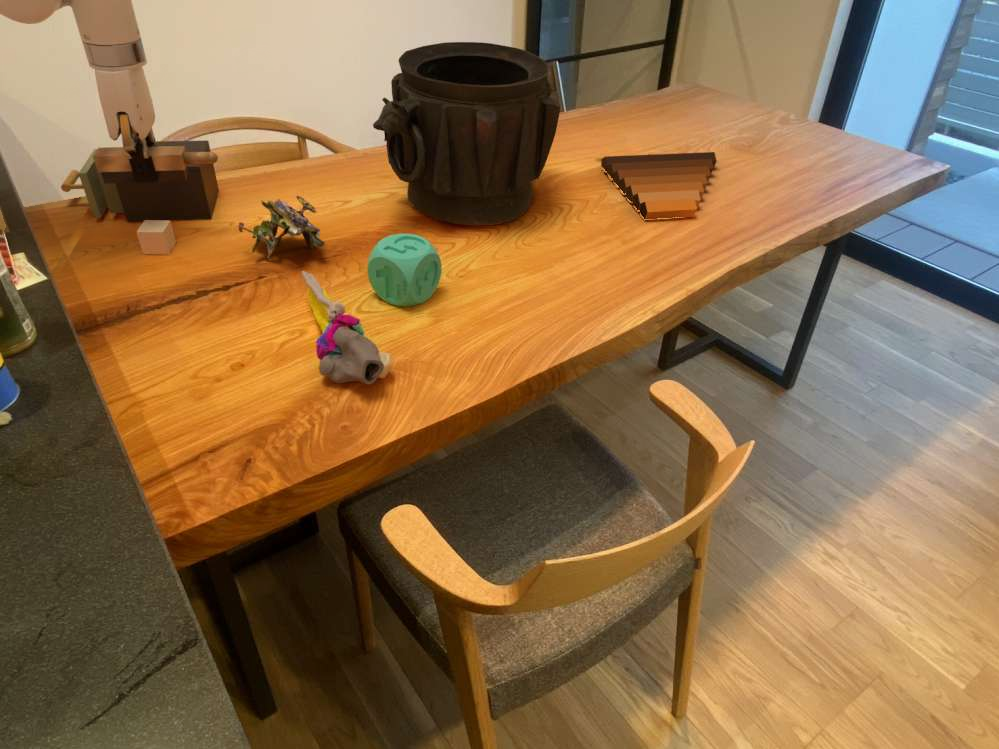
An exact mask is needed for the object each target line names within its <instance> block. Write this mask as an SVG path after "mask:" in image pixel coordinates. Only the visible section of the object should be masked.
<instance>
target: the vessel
mask: <svg viewBox="0 0 999 749" xmlns="http://www.w3.org/2000/svg"><path fill="white" fill-rule="evenodd" d="M398 64H399V69H400V72H398V73H396V74H395V75H394V76H393V77H392V79H391V82H390V83H391V98H392V100H389V99H387V97H383V98H382V99H381V101H382V102H383V103H384V105H383V107H382V109H381V113H380V114H379V117H378V119H376V121H374V122H373V123H372V127H373V129H375V130H377V131H380V132H381V131H382V132H383V134H384V139H383V140H384V141H383V142H386V143H385V144H386V152H387V159H388V164H389V165H390V166H391V169H392V171H393V172H394V174H395V175H396V176H397V178H398V179H399V180H400V181H402V182H405V183H408V185H407V194H406V195H407V198H408V199H407V200H408V201H409V203H410V204H411V205H412V206H413V207H414V208H415V209H416V210H417V211H419V212H421V213H423V214H425V215H426V216H428V217H429V218H433V219H436V220H440V221H442V222H447V223H451V224H455V225H463V226H489V225H493V226H494V225H498V224H499V225H500V224H504V223H507V222H511V221H514V220H516V219H517V218H520V217H521V216H522V215H524V214H525V213H526V212H527V211H529V210H530V207H531V203H532V200H533V195H532V194H533V192H532V182H534V181H535V180H538V179H539V178H540V177H541V174H542V172H543V170H544V169H545V166H546V163H547V160H548V157H549V155H550V152H551V149H552V146H553V142H554V139H555V137H556V133H557V128H558V124H559V123H558V122H559V119H560V111H561V110H560V107H561V106H560V105H559V104H558V103H557V101H556V99H555V98H553V97H551V95H552V92H553V88H552V83H551V82H550V81H549V74H550V67H549V64H548V63H547V62H546V60H544V59H543V58H542V57H539V56H538V55H536V54H534V53H532V52H530V51H528V50H525V49H521V48H519V47H513V46H507V45H502V44H496V43H490V42H482V41H481V42H478V41H452V42H451V41H450V42H439V43H432V44H428V45H423V46H418V47H415V48H412V49H409V50H406V51H404V53H402V54H401V55H400V56H399V58H398Z"/></svg>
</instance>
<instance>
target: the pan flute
mask: <svg viewBox="0 0 999 749" xmlns="http://www.w3.org/2000/svg"><path fill="white" fill-rule="evenodd" d="M717 161H718V160H717V157H716V153H715V151H708V152H707V151H705V152H703V151H702V152H683V153H682V152H680V153H657V154H633V155H609V156H604V157H603V158H601V160H600V163H601V164H600V167H601V166H602V167H603V168H604V169H605V171H607V173H608V174H609V175H610V176H611V178H613V180H614V182H615V183H616V184H617V185H618V186H619V188H620V189H621V190H622V191H623V193H624V194H625V193H626V196H625V198H626V197H627V198H628V199H629V200H630V201H631V202H633V204H632V206H633V205H634V206H635V207H636V208H637V210H640V212H639V214H640V213H641V215H642V216H643V217H644V219H657V218H673V217H674V218H675V217H693V218H694V217H695V215H696V213H697V210H698V207H699V205H700V203H701V200H702V198H703V196H704V193H705V190H706V188H707V186H708V184H709V183H707V182H709V181H710V178H711V176H712V173H713V171H714V168H715V165H716V163H717Z"/></svg>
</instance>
